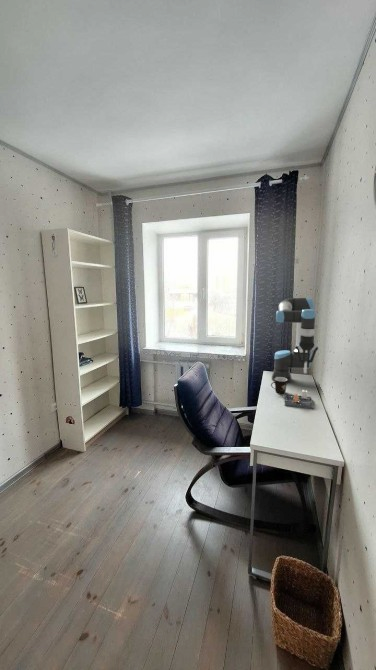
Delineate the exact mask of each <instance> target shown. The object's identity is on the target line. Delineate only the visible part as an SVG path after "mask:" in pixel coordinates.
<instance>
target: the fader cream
mask: <svg viewBox="0 0 376 670" xmlns="http://www.w3.org/2000/svg"><path fill="white" fill-rule="evenodd" d="M301 396H302V398H304V399H307V396H308V390H307V389H302V390H301Z"/></svg>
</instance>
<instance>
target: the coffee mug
mask: <svg viewBox="0 0 376 670" xmlns="http://www.w3.org/2000/svg"><path fill="white" fill-rule="evenodd" d="M273 384H274V387H273ZM270 386H271V387H272V389H274V390H275V393H276V394H278V395H286V389H287V386H288V383H287V379H286V378H284V377H276V378H275V381H273V382H271V384H270Z"/></svg>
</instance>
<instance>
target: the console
mask: <svg viewBox="0 0 376 670" xmlns="http://www.w3.org/2000/svg"><path fill="white" fill-rule="evenodd" d="M284 396H285V397H284V406H286V407H294V408H303V409H311V410H313V401H312V396H309V395H307V399H304V398H302V395H299V402H293V398H294V394H291V393H290V394H289V393H285V394H284Z"/></svg>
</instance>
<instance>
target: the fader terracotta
mask: <svg viewBox="0 0 376 670" xmlns="http://www.w3.org/2000/svg"><path fill="white" fill-rule="evenodd" d="M293 395H294V398H293V402H299V396H300V393H297V392H293Z"/></svg>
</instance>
